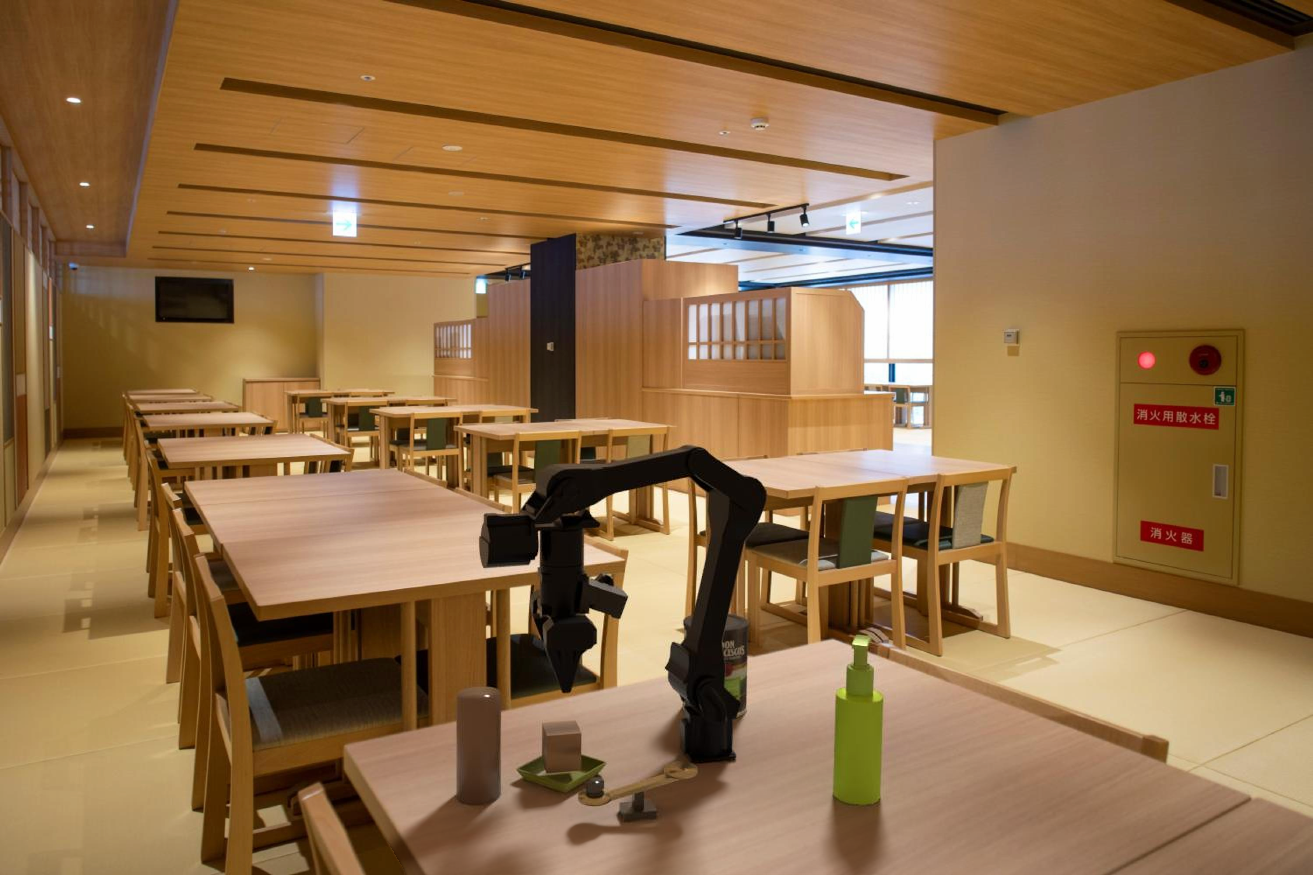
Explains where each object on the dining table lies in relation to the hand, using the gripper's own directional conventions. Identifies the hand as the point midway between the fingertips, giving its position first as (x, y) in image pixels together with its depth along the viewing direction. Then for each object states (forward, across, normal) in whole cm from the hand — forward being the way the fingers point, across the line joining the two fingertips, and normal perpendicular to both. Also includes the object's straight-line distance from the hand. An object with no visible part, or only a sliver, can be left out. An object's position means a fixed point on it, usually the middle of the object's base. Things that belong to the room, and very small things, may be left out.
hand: (561, 680), depth 124 cm
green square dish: (+14, 0, 0) cm, 14 cm away
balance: (+13, -12, -8) cm, 20 cm away
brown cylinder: (+13, -3, +11) cm, 17 cm away
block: (+11, 0, 0) cm, 11 cm away
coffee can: (+13, +19, -27) cm, 36 cm away
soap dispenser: (+13, -13, -36) cm, 40 cm away
